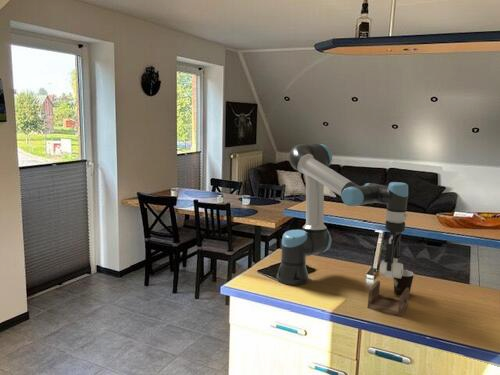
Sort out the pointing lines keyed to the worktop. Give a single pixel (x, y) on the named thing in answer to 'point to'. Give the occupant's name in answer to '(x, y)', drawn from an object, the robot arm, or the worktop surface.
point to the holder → (387, 301)
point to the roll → (396, 269)
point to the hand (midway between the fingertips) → (390, 275)
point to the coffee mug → (403, 282)
